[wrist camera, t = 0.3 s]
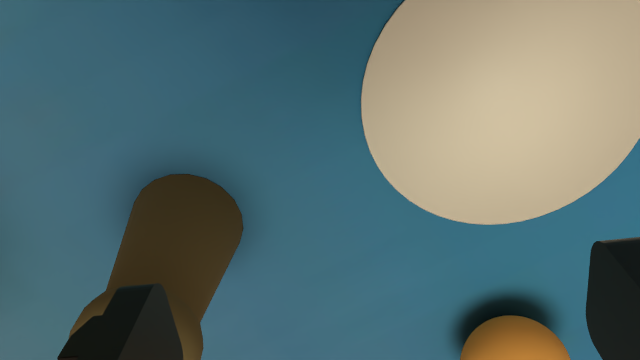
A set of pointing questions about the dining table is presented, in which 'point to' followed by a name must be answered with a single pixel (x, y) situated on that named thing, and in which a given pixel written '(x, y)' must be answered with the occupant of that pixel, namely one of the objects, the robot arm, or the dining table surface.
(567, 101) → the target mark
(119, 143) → the dining table surface
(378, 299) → the dining table surface
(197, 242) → the brown rounded upright piece
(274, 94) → the dining table surface
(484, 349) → the ball
